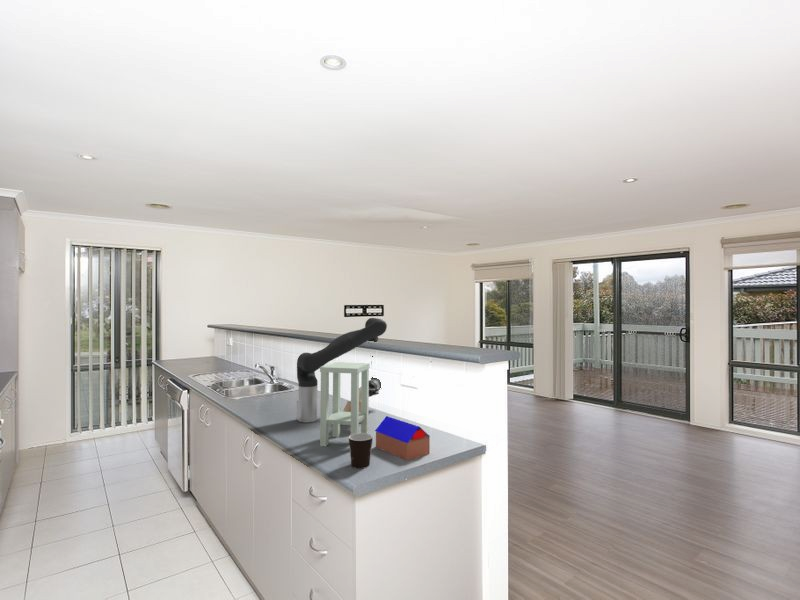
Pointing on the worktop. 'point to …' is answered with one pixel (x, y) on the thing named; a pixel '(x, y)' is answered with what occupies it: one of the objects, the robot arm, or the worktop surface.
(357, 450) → the dark brown cup
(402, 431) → the house
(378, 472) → the worktop surface
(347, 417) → the tall stand
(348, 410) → the cube on tan board
